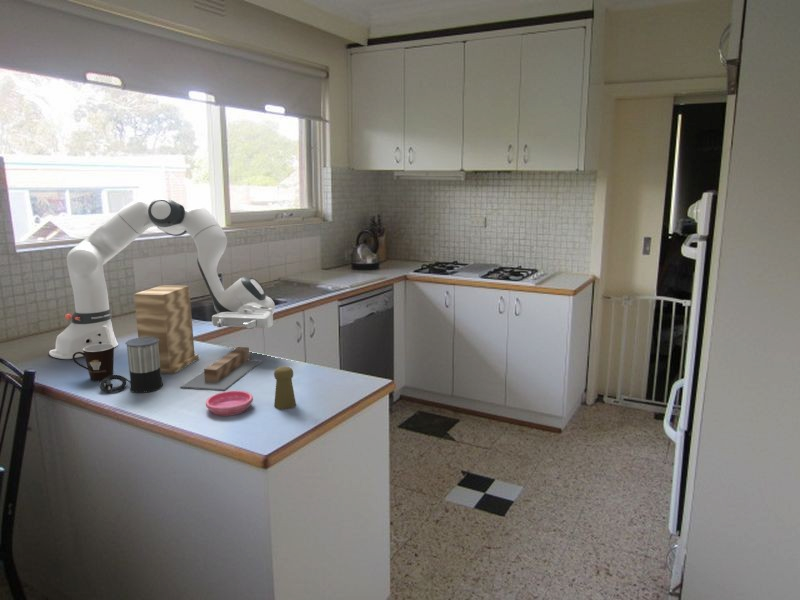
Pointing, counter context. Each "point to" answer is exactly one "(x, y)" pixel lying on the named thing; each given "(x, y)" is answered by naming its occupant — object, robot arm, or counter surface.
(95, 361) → the coffee mug
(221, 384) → the rubber mat
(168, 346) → the oak block
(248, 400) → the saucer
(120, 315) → the counter surface
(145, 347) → the milk frother
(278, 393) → the cork
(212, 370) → the walnut bar
